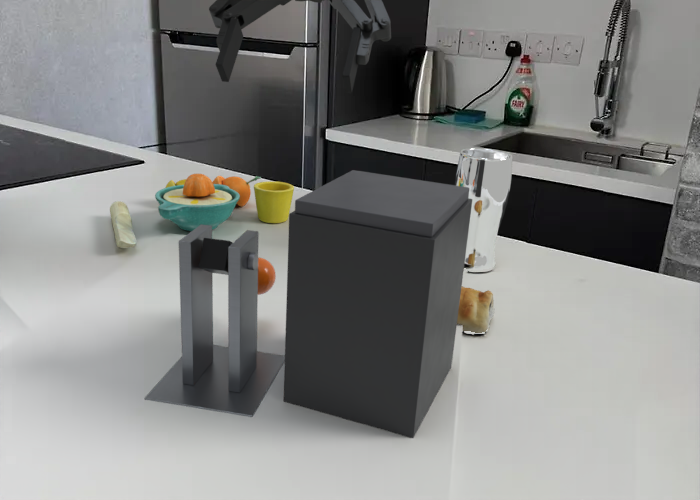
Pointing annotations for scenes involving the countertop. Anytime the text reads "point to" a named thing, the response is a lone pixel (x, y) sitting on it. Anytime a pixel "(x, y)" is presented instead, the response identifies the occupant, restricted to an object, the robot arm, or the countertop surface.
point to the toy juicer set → (207, 203)
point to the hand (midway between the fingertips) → (283, 79)
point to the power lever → (217, 262)
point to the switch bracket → (197, 335)
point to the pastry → (475, 310)
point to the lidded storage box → (374, 297)
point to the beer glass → (484, 200)
